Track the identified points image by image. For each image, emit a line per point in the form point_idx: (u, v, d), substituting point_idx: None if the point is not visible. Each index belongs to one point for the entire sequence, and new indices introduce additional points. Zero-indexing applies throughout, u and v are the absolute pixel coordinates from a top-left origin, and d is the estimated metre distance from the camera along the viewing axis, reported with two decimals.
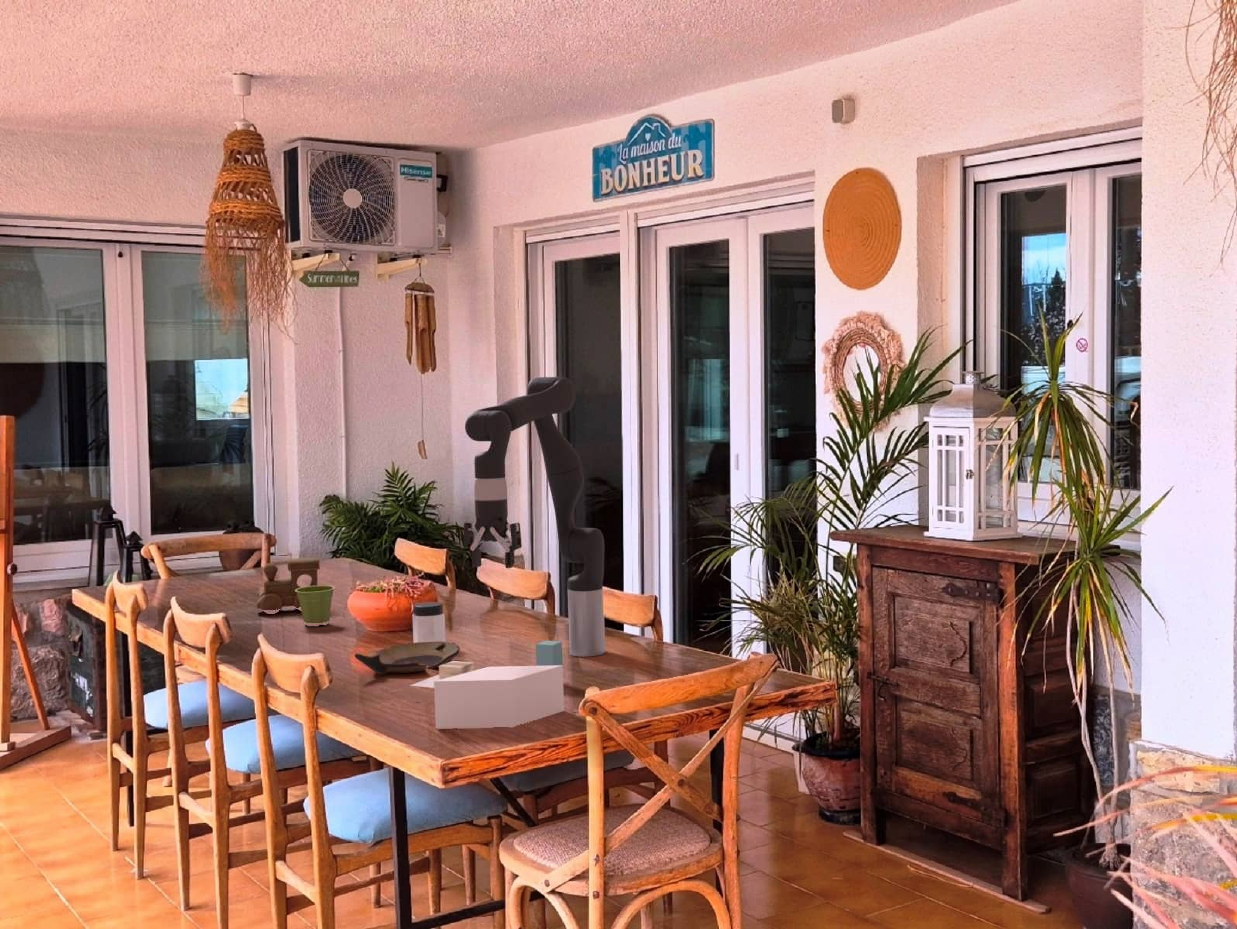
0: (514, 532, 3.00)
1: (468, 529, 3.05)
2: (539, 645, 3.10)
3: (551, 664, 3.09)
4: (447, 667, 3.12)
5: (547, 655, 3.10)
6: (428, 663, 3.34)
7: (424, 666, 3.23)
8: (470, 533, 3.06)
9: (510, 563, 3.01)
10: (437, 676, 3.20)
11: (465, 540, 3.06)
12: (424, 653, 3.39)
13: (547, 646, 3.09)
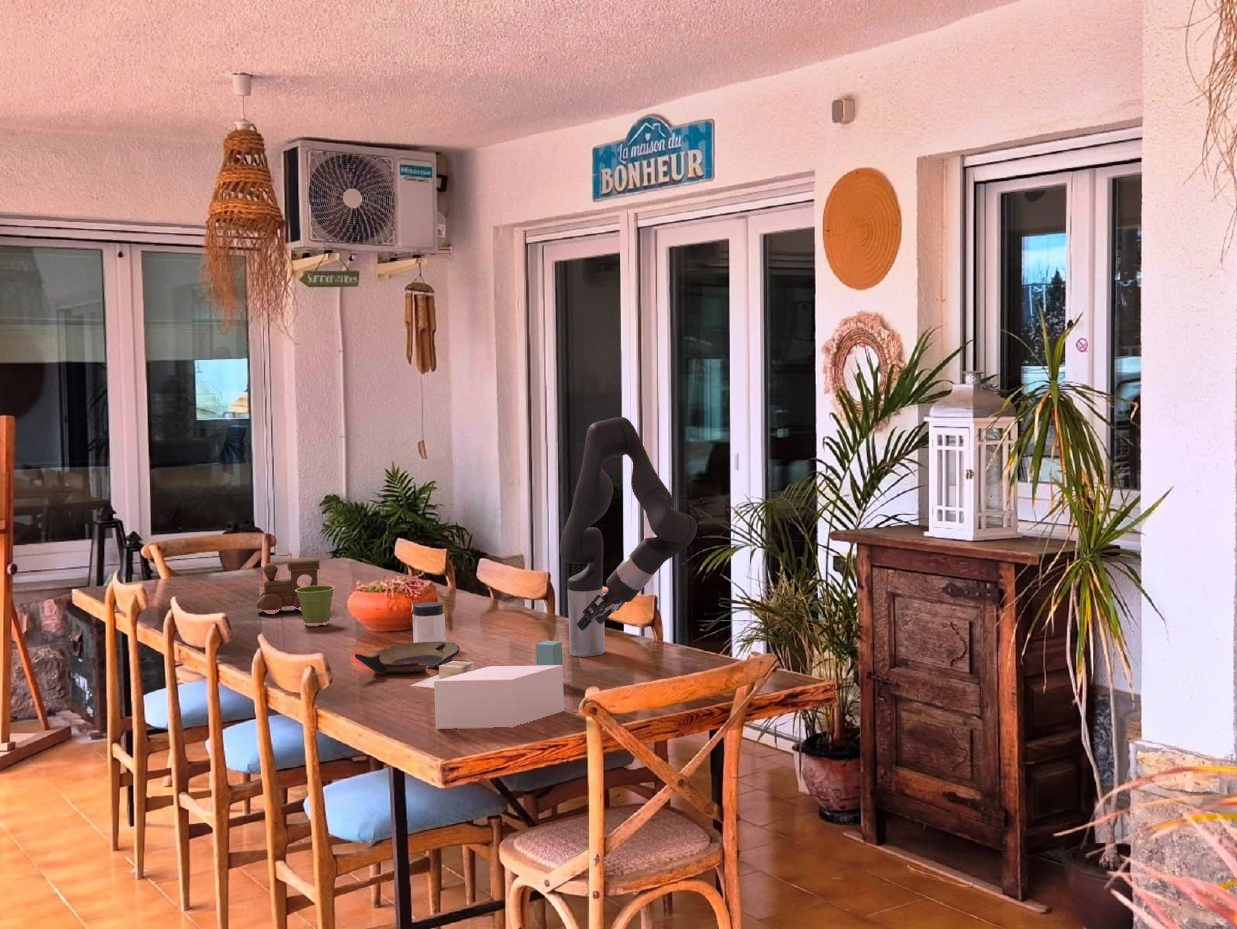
0: None
1: (602, 606, 2.97)
2: (539, 645, 3.10)
3: (551, 664, 3.09)
4: (447, 667, 3.12)
5: (547, 655, 3.10)
6: (428, 663, 3.34)
7: (424, 666, 3.23)
8: None
9: None
10: (437, 676, 3.20)
11: (594, 615, 2.98)
12: (424, 653, 3.39)
13: (547, 646, 3.09)
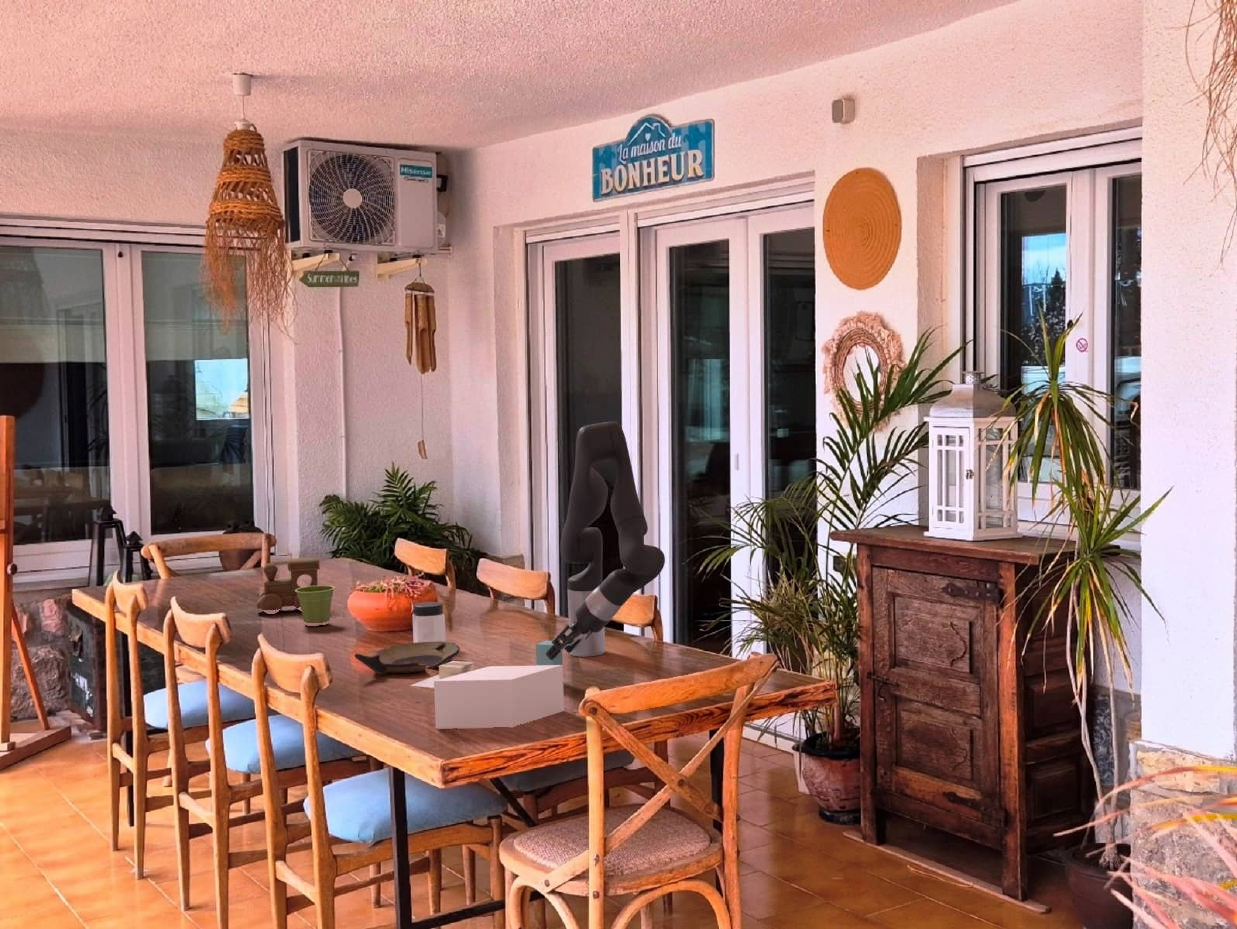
0: None
1: (571, 637, 3.02)
2: (539, 645, 3.10)
3: (551, 664, 3.09)
4: (447, 667, 3.12)
5: None
6: (428, 663, 3.34)
7: (424, 666, 3.23)
8: None
9: None
10: (437, 676, 3.20)
11: (563, 645, 3.02)
12: (424, 653, 3.39)
13: (547, 646, 3.09)
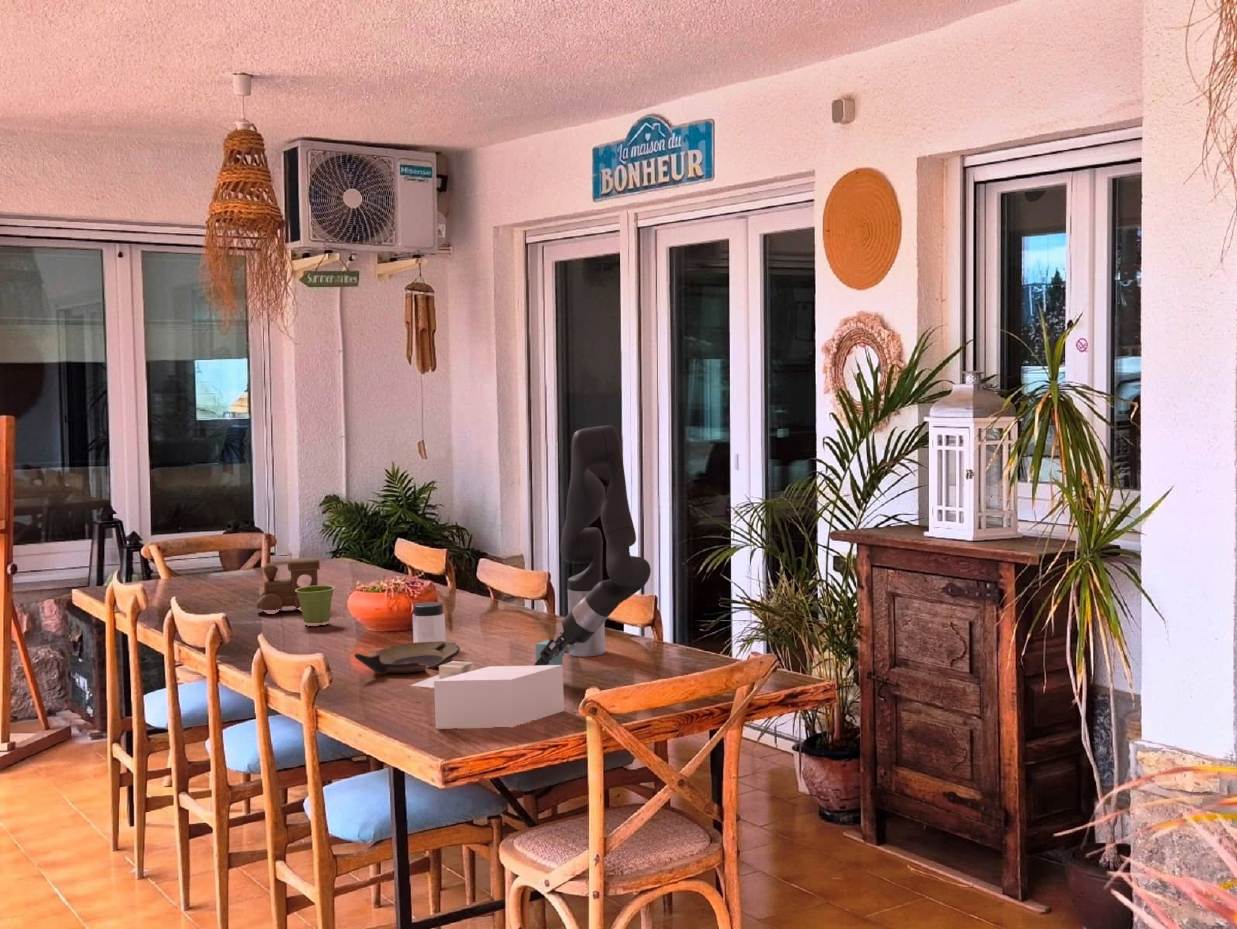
0: (578, 642, 3.15)
1: (557, 649, 3.05)
2: (539, 645, 3.10)
3: (551, 664, 3.09)
4: (447, 667, 3.12)
5: None
6: (428, 663, 3.34)
7: (424, 666, 3.23)
8: None
9: None
10: (437, 676, 3.20)
11: (550, 657, 3.06)
12: (424, 653, 3.39)
13: None
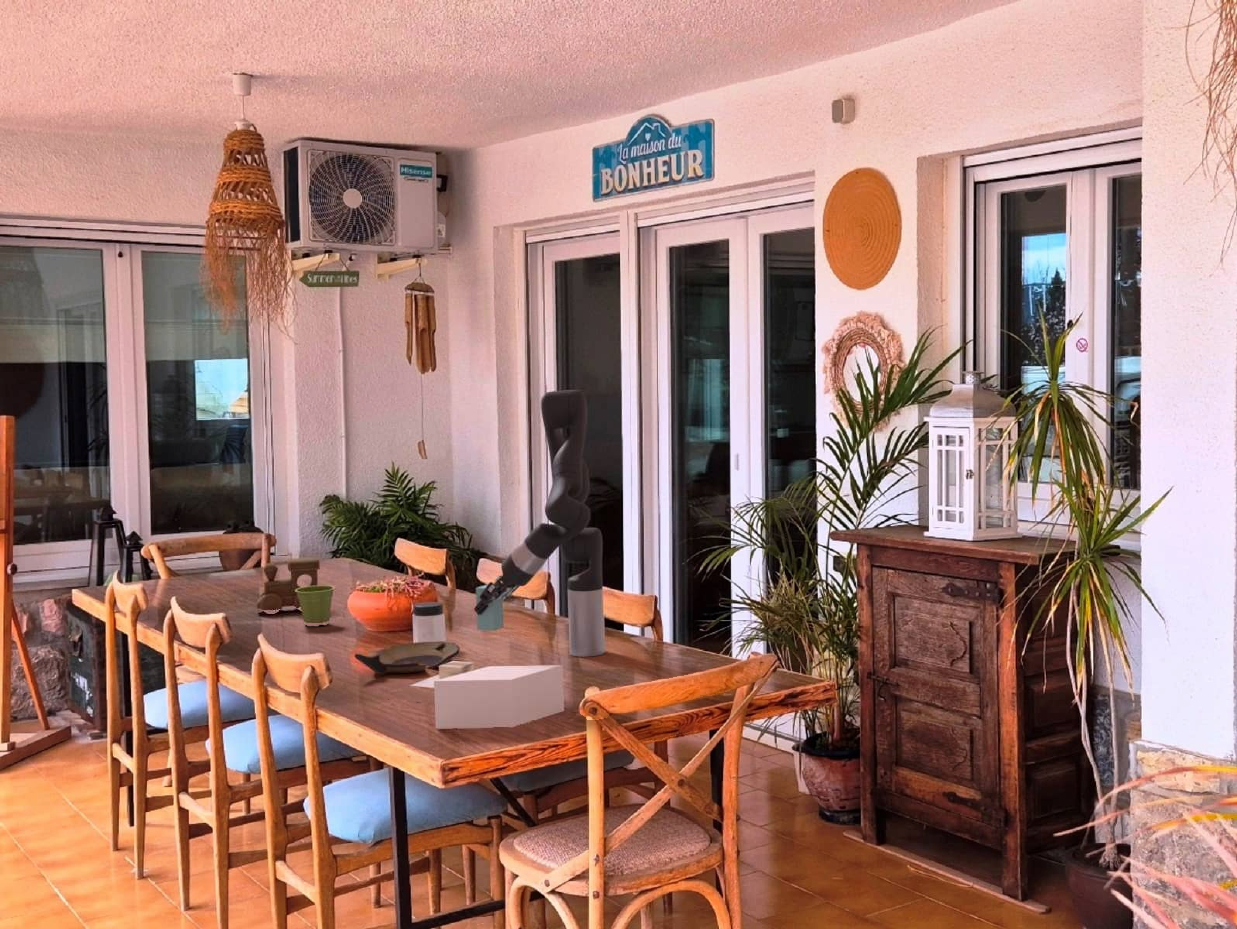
0: (518, 586, 3.15)
1: (496, 592, 3.05)
2: (479, 589, 3.10)
3: (491, 608, 3.09)
4: (447, 667, 3.12)
5: None
6: (428, 663, 3.34)
7: (424, 666, 3.23)
8: None
9: None
10: (437, 676, 3.20)
11: (489, 600, 3.06)
12: (424, 653, 3.39)
13: None
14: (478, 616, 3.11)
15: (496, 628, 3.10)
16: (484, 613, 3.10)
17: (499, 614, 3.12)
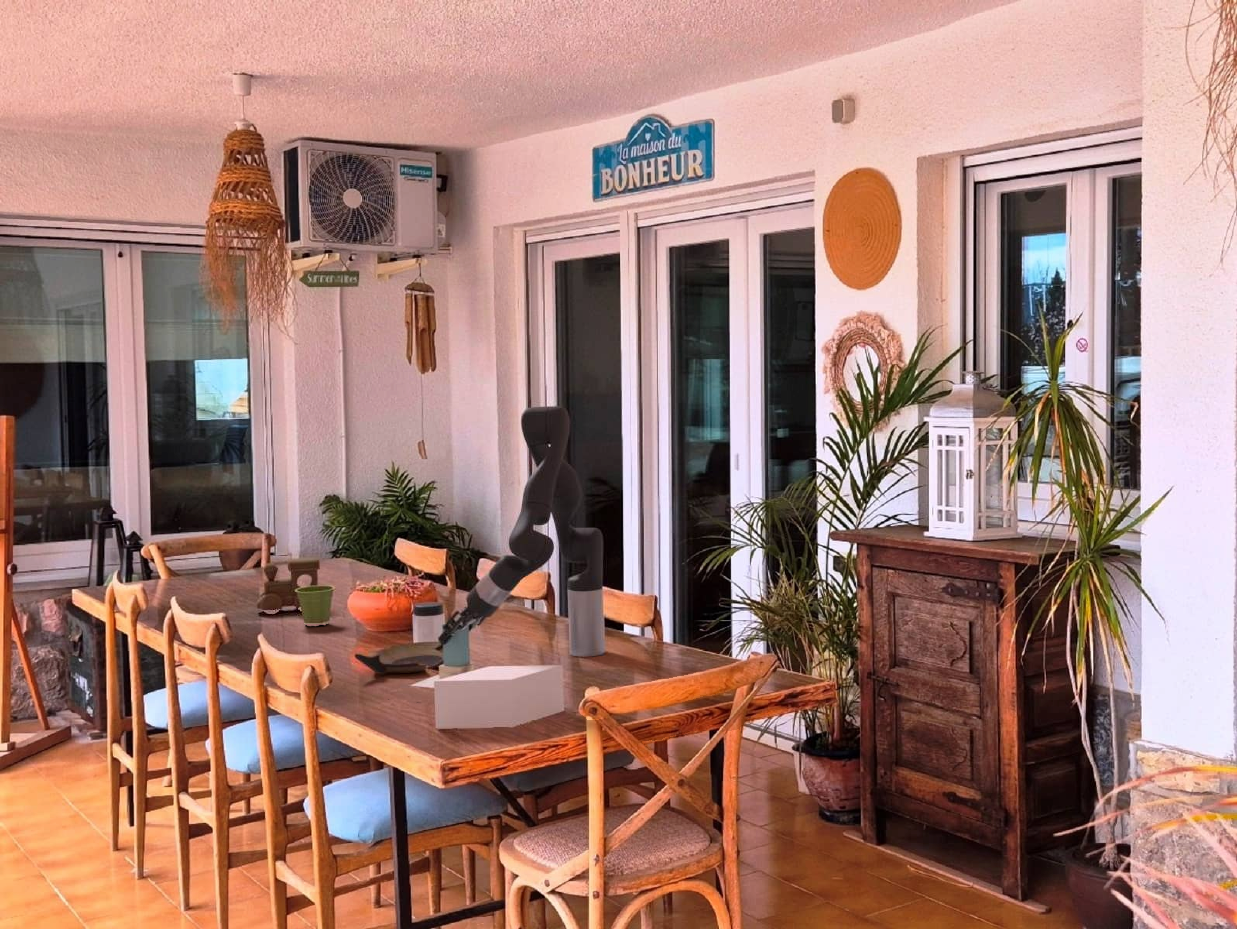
0: None
1: (461, 622, 3.06)
2: None
3: (457, 644, 3.11)
4: (447, 667, 3.12)
5: None
6: (428, 663, 3.34)
7: (424, 667, 3.23)
8: None
9: None
10: (437, 676, 3.20)
11: (453, 630, 3.06)
12: (424, 653, 3.39)
13: None
14: (444, 652, 3.13)
15: (462, 664, 3.12)
16: (450, 649, 3.12)
17: (465, 650, 3.14)
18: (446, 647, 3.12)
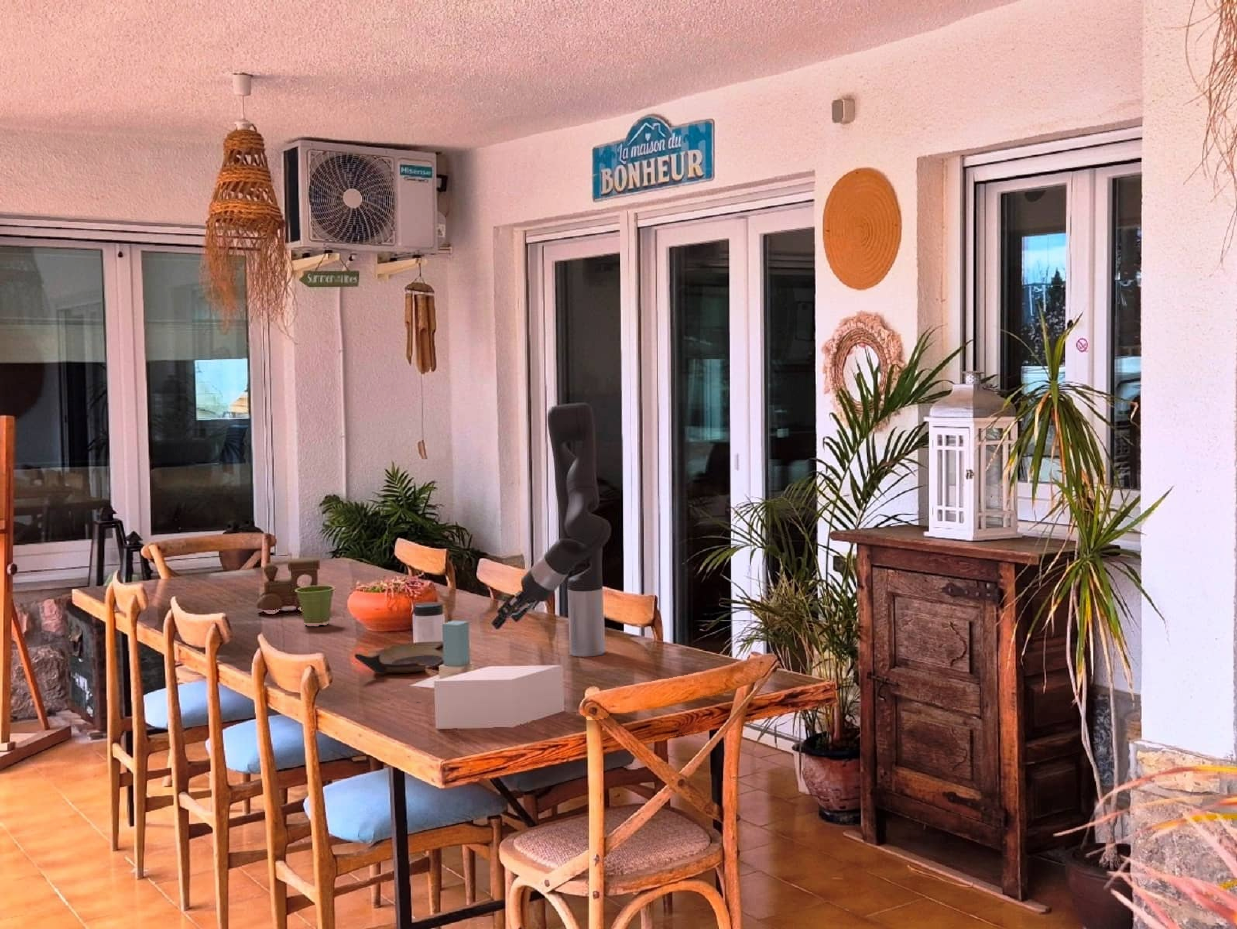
0: None
1: (516, 606, 3.01)
2: (445, 625, 3.12)
3: (457, 644, 3.11)
4: (447, 667, 3.12)
5: (453, 634, 3.11)
6: (428, 663, 3.34)
7: (424, 666, 3.23)
8: None
9: None
10: (437, 676, 3.20)
11: (508, 614, 3.01)
12: (424, 653, 3.39)
13: (453, 626, 3.11)
14: (444, 652, 3.13)
15: (462, 664, 3.12)
16: (450, 649, 3.12)
17: (465, 650, 3.14)
18: (446, 647, 3.12)
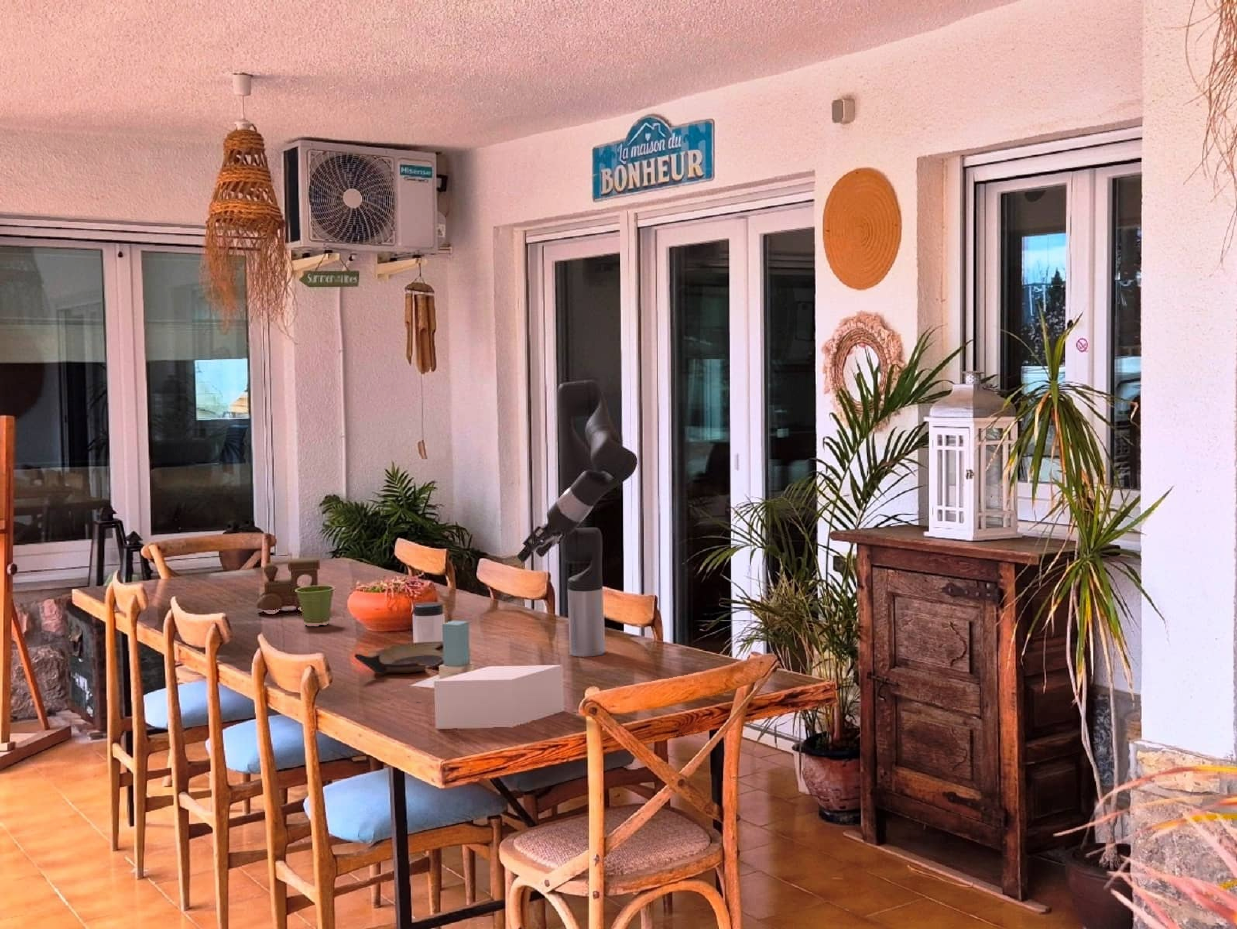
0: None
1: (542, 537, 3.01)
2: (445, 625, 3.12)
3: (457, 644, 3.11)
4: (447, 667, 3.12)
5: (453, 634, 3.11)
6: (428, 663, 3.34)
7: (424, 667, 3.23)
8: None
9: None
10: (437, 676, 3.20)
11: (534, 546, 3.02)
12: (424, 653, 3.39)
13: (453, 626, 3.11)
14: (444, 652, 3.13)
15: (462, 664, 3.12)
16: (450, 649, 3.12)
17: (465, 650, 3.14)
18: (446, 647, 3.12)
